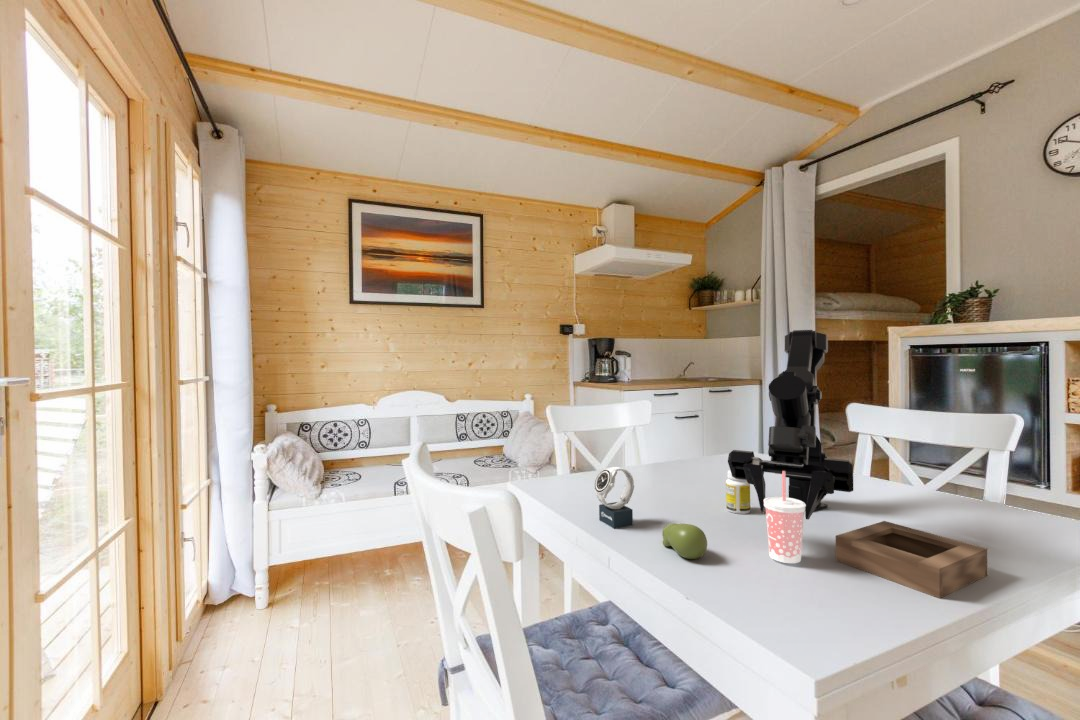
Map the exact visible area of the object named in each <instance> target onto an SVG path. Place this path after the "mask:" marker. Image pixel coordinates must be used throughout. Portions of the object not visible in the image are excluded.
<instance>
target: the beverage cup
mask: <svg viewBox="0 0 1080 720" xmlns="http://www.w3.org/2000/svg"><path fill="white" fill-rule="evenodd" d="M781 475H782V476H781V481H782V483H781V484H782V485H781V486H782V488H781V490H782V493H781V494H782V496H769V497H765V499H764V500H763V501H764V506H765V517H766V528H767V530H766V531H767V541H768V542H767V543H768V544H767V545H768V555H769V557H770V559H772V560H774V561H776V562H780V563H785V564H798V563H800V562H801V561H802V552H803V551H802V549H803V548H802V547H803V531H804V515H805V514H804V513H805V512H806V509H805V507H806V504H805V503H804V502H802V501H800V500H797V499H794V498H789V496H788V497H787V491H786V490H787V488H786V487H787V486H786V478H787V477H786V474H785V471H782V474H781Z"/></svg>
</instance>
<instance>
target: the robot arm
mask: <svg viewBox="0 0 1080 720" xmlns="http://www.w3.org/2000/svg"><path fill="white" fill-rule="evenodd" d="M828 351H829V340H828V335H827V334H826V333H822V332H817V330H813V329H797V330H796V329H795V330H793V331H789V334H786V335H784V352H785V354H788V357H787V358H788V359H787V363H786V369H785V370H784V371H782V372H781V373H779V374H778V375H777V377H775V378H773V379H772V381H770V383H768V397H769V401H770V403H771V409H772V412H773V415H774V416H775V420H774V421H775V422H774V426H769V427H768V444H767V446H768V450H767V451H768V452H767V453H768V457H770V460H765V459H762V458H760V457H759V456H755V453H754V451H749V450H739V449H733V450H731V451H730V452H729V453H728V458H727V464H728V467H729V470H731V474H732V477H734V478H736V479H743V480H747V482H748V483H749V484H750V485H753V487H754V489H755V492H756V495H757V500H758V504H759V508H760V512H761V513H762V514H764V513H765V512H766V507H765V506H764V501H763V500H764V499H765V498H766V480H765V476H764V474H765V473H769V474H771V473H772V474H777V475H782V471H785V474H786V478H788V498H794V499H797V500H800V501H802V502H804V503H805V504H806V507H805V509H806V510H805V512H804V513H805V514H804V515H805V520H809V519H810V518H811V516H813V514H814V512H815V511H817V510H822V509H825V508H828V507H829V504H828V503H827V504H826V503H823V502H822V501H823V499H824V498H825V497H826V496H827V495H833V494H834V493H835V491H838V492H844V493H851V492H854V464H853V462H851V461H850V459H844V458H843V459H842V458H829V457H828V456H827V453H826V452H824V447H823V445H822V441H820V439H819V437H818V436H817V429H816V406H817V405H819V403H820V401H821V400H822V398H823V397H822V396H823V393H822V391H821V390H820V388H819V385H817V372H818V371H819V370H820V368H821V367H822V365H823V364H825V354H827V353H828Z"/></svg>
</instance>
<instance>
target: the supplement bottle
mask: <svg viewBox="0 0 1080 720" xmlns="http://www.w3.org/2000/svg"><path fill="white" fill-rule="evenodd" d="M725 498H726V499H725V500H726V502H725V503H726V508H725V509H726V511H728V512H729V513H732V514H737V515H738V514H739V515H745V514H749V513H750V512H751V484H749V483H748V482H747V480H743V479H736V478H734V477H732V474H731V470H730V469H728V470H727V479H726V480H725Z"/></svg>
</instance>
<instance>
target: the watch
mask: <svg viewBox="0 0 1080 720" xmlns="http://www.w3.org/2000/svg"><path fill="white" fill-rule="evenodd" d="M618 471H619V472H620V471H622V472H623V473H624V474H625V477H626V483H625V484H624V488H623V491H622V492H621V495H620V497H619V500H618V501H616V502H609V503H608V502H607V501H606V500H605V499H606V498H607V496H608V494H609V493H610V492H611V491H612V489H613V488H614V487H615V483H616V476H617V474H618ZM634 481H635V480H634V478H633V475H632V474H631V472H630V471H628V470H627V469H624V468H622V467H620V466H610V467H607V468H605V469H603V470H601V471H600V472H599V473H598V474H597V476H596V479H595V480H594V490H595V494H596V496H597V497H596V498H597V499H598V501H599V502H600V504H599V505H598V508H599V509H598V511H599V513H598V516H599V518H598V519H599V521H600V522H602V523H604V524H605V525H608V526H609V527H611V528H612V529H614V530H615V529H619V528H625V527H629V526H634V523H633V522H634V521H633V520H634V519H633V518H634V517H633V516H634V515H633V514H634V512H633V508H630V507H628V506H626V504H629V502H630V501H631V498H632V496H633V493H634V489H635V484H634V483H635V482H634Z"/></svg>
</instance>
